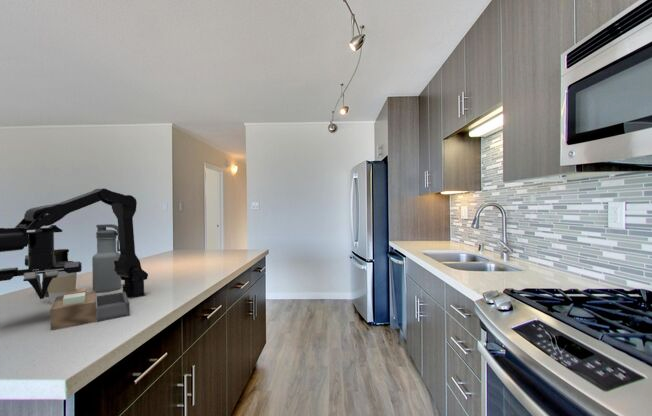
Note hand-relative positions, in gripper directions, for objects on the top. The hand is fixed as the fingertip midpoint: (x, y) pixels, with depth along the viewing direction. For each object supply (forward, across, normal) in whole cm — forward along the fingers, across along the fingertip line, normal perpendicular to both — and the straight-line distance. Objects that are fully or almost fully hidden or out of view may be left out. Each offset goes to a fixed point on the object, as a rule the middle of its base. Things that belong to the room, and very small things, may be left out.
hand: (42, 298), depth 89 cm
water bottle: (+7, -17, -32) cm, 37 cm away
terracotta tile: (+1, -8, 0) cm, 8 cm away
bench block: (+7, -8, +4) cm, 11 cm away
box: (+7, -17, +4) cm, 19 cm away
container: (+7, 0, -38) cm, 39 cm away
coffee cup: (+7, -3, -24) cm, 25 cm away
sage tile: (+1, -8, +7) cm, 11 cm away
